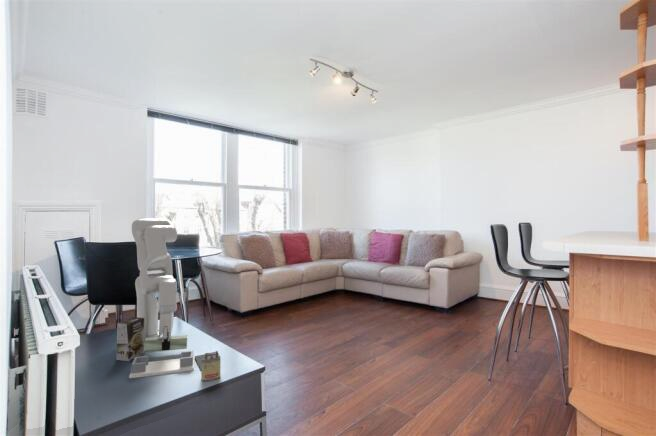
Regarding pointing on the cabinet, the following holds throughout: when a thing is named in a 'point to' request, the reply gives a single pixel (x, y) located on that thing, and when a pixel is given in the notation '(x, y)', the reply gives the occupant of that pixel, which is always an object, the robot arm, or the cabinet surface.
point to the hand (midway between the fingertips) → (166, 347)
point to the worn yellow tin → (210, 366)
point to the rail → (156, 343)
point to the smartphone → (199, 361)
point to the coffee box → (130, 338)
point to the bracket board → (162, 365)
